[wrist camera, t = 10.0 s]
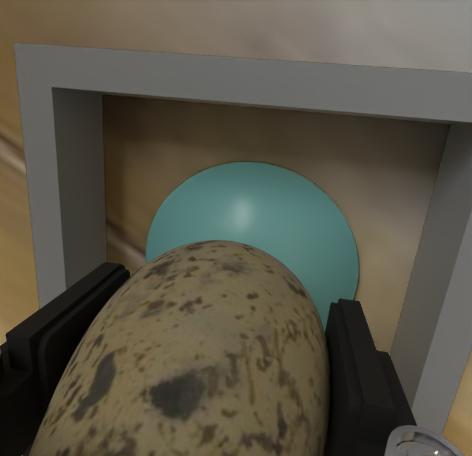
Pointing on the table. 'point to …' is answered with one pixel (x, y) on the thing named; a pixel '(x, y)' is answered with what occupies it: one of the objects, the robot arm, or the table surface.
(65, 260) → the walled pen
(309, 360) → the decorative egg
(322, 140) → the table surface
